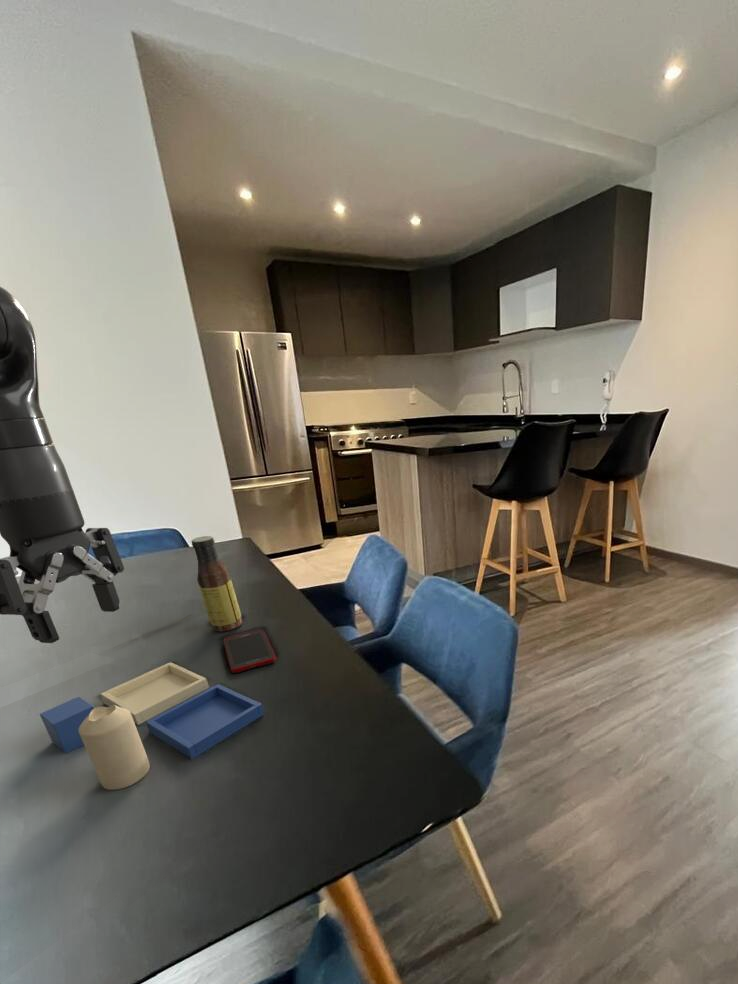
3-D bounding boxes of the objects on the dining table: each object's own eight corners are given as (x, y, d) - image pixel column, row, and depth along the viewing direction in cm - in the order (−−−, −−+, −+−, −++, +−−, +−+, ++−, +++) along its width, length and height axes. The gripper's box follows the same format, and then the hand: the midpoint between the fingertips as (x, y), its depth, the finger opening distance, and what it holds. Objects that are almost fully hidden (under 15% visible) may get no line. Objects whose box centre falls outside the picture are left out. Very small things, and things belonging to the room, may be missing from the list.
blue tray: (191, 759, 66) (188, 748, 65) (149, 732, 72) (145, 721, 72) (264, 714, 75) (261, 703, 74) (220, 693, 81) (218, 683, 80)
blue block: (66, 753, 69) (52, 724, 67) (52, 742, 72) (39, 713, 70) (104, 734, 73) (93, 705, 71) (90, 723, 75) (78, 696, 74)
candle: (94, 780, 64) (66, 716, 60) (138, 755, 68) (114, 694, 64) (113, 796, 61) (85, 730, 57) (158, 769, 65) (134, 706, 61)
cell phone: (232, 675, 86) (230, 670, 86) (223, 642, 98) (222, 638, 98) (277, 662, 89) (276, 657, 89) (263, 632, 102) (262, 628, 101)
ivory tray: (138, 725, 74) (134, 714, 74) (104, 703, 81) (100, 693, 80) (209, 688, 83) (206, 678, 82) (173, 671, 89) (170, 661, 88)
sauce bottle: (229, 618, 110) (207, 532, 102) (249, 622, 107) (228, 534, 99) (204, 631, 104) (179, 541, 97) (225, 635, 102) (200, 543, 94)
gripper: (60, 480, 60) (105, 601, 67) (-73, 505, 48) (-3, 652, 54) (112, 478, 59) (152, 602, 65) (-12, 504, 46) (53, 655, 52)
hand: (82, 625), depth 60 cm, fingers open, 8 cm apart
